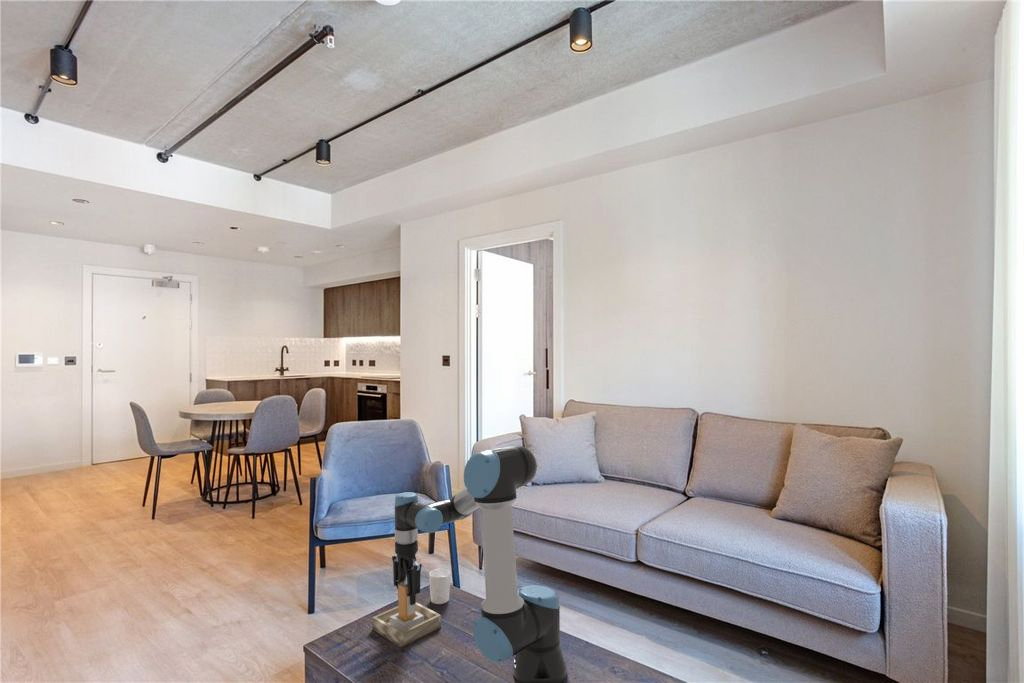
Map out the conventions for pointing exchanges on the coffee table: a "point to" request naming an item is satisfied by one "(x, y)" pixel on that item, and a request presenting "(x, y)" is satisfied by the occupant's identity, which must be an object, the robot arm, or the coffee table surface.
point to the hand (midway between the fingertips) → (406, 611)
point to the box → (403, 638)
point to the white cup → (439, 585)
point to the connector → (403, 602)
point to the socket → (406, 625)
